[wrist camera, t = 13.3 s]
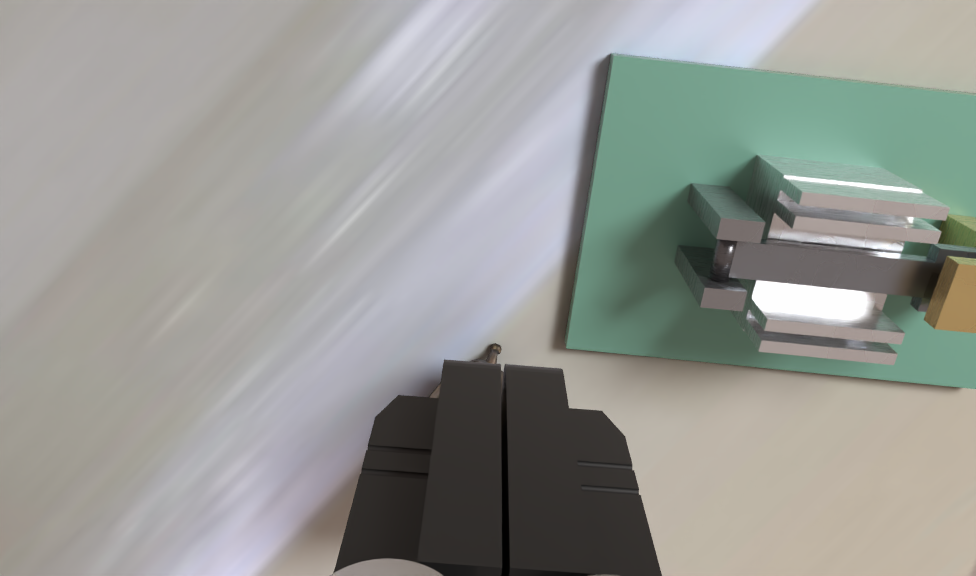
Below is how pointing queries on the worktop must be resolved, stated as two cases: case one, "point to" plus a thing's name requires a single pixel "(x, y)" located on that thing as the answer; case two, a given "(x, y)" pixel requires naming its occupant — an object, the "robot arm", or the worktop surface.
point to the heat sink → (811, 220)
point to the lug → (955, 280)
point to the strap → (835, 267)
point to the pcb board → (730, 162)
